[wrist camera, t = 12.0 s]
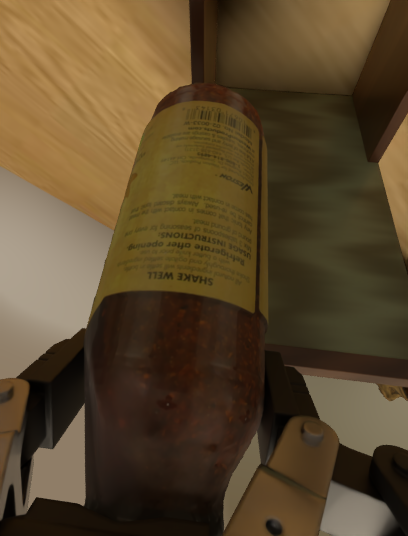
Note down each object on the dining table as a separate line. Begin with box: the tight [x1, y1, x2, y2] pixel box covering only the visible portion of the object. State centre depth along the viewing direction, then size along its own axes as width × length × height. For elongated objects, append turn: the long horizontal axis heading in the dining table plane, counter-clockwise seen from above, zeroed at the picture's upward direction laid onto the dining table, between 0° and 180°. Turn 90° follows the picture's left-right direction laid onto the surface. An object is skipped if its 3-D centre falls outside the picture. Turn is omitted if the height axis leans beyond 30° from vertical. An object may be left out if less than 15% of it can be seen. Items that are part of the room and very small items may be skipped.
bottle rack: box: [189, 0, 408, 387], centre depth 18 cm, size 14×12×25 cm
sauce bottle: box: [84, 83, 268, 536], centre depth 11 cm, size 7×6×20 cm
